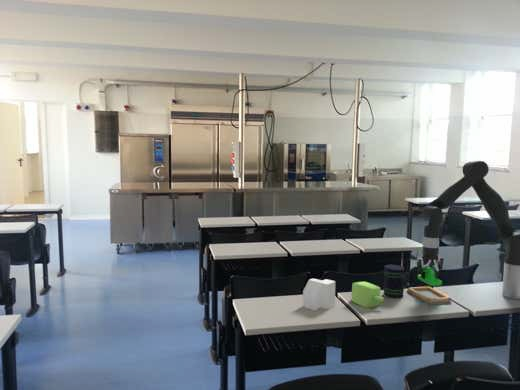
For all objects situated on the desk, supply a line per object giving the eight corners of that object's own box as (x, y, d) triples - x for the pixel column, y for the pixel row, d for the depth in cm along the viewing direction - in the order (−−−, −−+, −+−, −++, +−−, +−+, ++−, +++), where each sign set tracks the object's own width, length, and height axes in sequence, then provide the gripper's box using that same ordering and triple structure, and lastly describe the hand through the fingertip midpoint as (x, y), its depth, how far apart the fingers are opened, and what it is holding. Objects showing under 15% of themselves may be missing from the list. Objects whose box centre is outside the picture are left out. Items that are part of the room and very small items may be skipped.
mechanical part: (441, 285, 207) (442, 269, 206) (430, 285, 206) (431, 269, 205) (428, 277, 218) (428, 262, 218) (417, 278, 218) (418, 263, 217)
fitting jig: (427, 290, 224) (427, 285, 224) (451, 303, 204) (451, 298, 204) (407, 291, 222) (407, 287, 221) (429, 305, 202) (429, 300, 202)
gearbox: (388, 308, 198) (390, 289, 197) (373, 311, 193) (375, 291, 192) (361, 296, 214) (363, 278, 213) (347, 299, 209) (348, 280, 208)
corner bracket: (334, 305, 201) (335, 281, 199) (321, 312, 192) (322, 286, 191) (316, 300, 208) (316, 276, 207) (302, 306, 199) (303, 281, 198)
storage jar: (382, 297, 213) (383, 268, 211) (383, 291, 222) (384, 263, 221) (403, 299, 210) (404, 270, 208) (403, 293, 219) (404, 265, 217)
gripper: (439, 243, 215) (437, 275, 217) (413, 244, 213) (412, 276, 214) (448, 246, 208) (446, 279, 210) (422, 247, 205) (420, 281, 207)
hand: (429, 278), depth 212 cm, fingers closed on mechanical part, 6 cm apart
